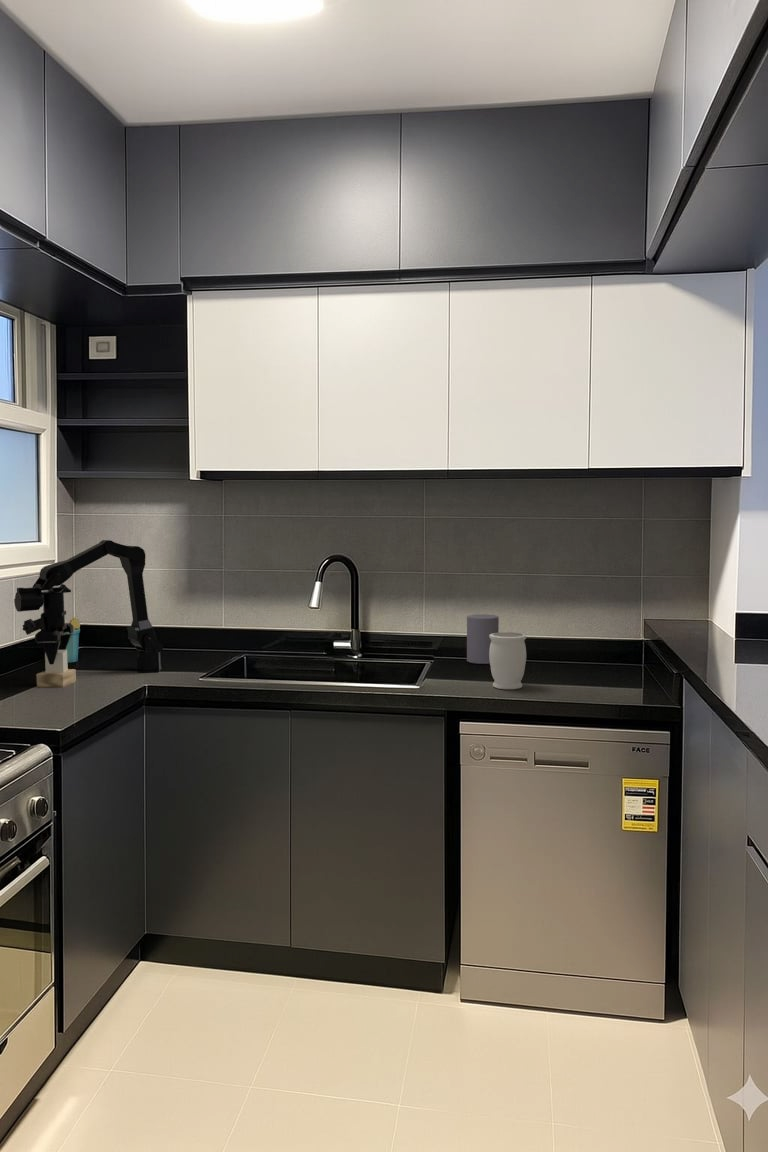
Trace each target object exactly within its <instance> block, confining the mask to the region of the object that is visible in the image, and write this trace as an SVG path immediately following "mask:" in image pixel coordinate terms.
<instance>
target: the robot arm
mask: <svg viewBox="0 0 768 1152" xmlns="http://www.w3.org/2000/svg"><path fill="white" fill-rule="evenodd" d="M107 555H110V556H112V557H114V558H118V559H119V562H120V564H121V567H122V569H123V571H124V573H125V574H126V578H127V584H128V585H127V586H128V591H129V600H130V601H129V602H130V608H131V609H130V610H131V616H132V621H131V625H127V626H126V630H127V633H128V635H127V639H128V640H130V643H131V644H132V645H133V646H134V647H135V650H136V651H138V655H137V657H136V670H137V673H158V672H160V671H161V669H162V668H163V667H162V666H161V653H162V652H163V650H164V645H163V644H162V642H161V641H159V640H158V638H157V636H156V634H155V630H154V629H155V628H154V626H153V625H152V622H151V621H150V620H149V615H148V614H149V613H148V608H147V599H146V592H145V586H144V585H145V584H144V576H143V573H144V570H145V566H146V551H145V549H144V548H142V547H141V546H137V545H136V546H135V545H126V544H122V543H119V542H118V543H117V542H115V541H113V540H109V539H103V540H101V541H100V542H98V543H97V544H95V545H93V546H91V547H89V548H87V549H84V550H83V551H81V552H79V553H77V554H75V555H73V556H72V557H70V558H68V559H65V560H62V561H58V562H54V563H50V564H47V565H45V566H43V567H42V568H41V569H39V570H40V571H39V575H38V578H37V580H36V581H35V582H34V584H33V585H32V587H16V593H15V596H14V599H13V602H14V603H13V604H14V607H15V610H16V612H18V613H19V612H20V613H21V612H31V611H39V610H40V608H42V607H43V609H42V610H43V612H42V613H41V614H40V618H36V619H34V620H33V619H32V618H30V619H26V620H24V621H23V624H22V631H23V632H25V634H26V636H27V635H28V636H29V635H31V634H32V633H35V632H37V633H36V634H35V635H34V641H35V642H36V644H38V645H40V646H41V647H42V648H43V650H44V653H46V655H47V658H48V661H49V664H54V662H55V659H56V655H57V652H58V650H66V648H67V645H68V643H69V640H70V638H71V636H72V634H67V632H69V633H73V625H72V624H71V623H69V622H65V618H66V617H65V616H66V615H67V610H65V595H64V594H66V593H71V592H72V589H70V588H69V587H68V586H67V585H66V584H64V583H65V582H66V581H68V580H69V579H70V578H71V577H72V576H73V575H74V574H75V573H76V572H77V571H80V570H81V569H84V568H85V567H87V566H89V565H90V564H92V563H93V564H94V562H96V561H98V560H100V559H102V558H104V557H105V556H107Z"/></svg>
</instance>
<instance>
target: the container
mask: <svg viewBox="0 0 768 1152" xmlns="http://www.w3.org/2000/svg"><path fill="white" fill-rule="evenodd" d="M499 617H500V616H499V615H495V614H482V613H481V614H471V615H467V616H466V662H468V663H469V664H474V665H481V666H482V665H490V660H489V650H490V644H491V639H490V637H489V636H490V634H493V633H500V632H499V630H500V629H499V624H500V622H499V621H500V620H499Z"/></svg>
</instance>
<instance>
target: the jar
mask: <svg viewBox="0 0 768 1152" xmlns="http://www.w3.org/2000/svg"><path fill="white" fill-rule="evenodd" d="M489 637H490V639H491V644H490V650H489V660H490V664H489V665H490V671H491V673H490V674H491V676H492V678H493V680H494V681H493V683H492V687H494V688H496V689H498V690H518V689H521V688H523V683H522V682H521V681H522V679H523V677H524V674H525V670H526V669H525V668H526V662H527V648H526V642H525V640H526V639H527V635H526V634H524V633H520V632H512V631H511V632H510V631H509V632H506V631H504V632H503V631H502V632H499V633H493V634H490V636H489Z"/></svg>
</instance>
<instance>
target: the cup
mask: <svg viewBox="0 0 768 1152" xmlns="http://www.w3.org/2000/svg"><path fill="white" fill-rule="evenodd" d="M68 623H71V624H72V625H73V633H69V632H67V634H72V636H71V638H70V640H69V643H68V645H67V648H66V650H67V663H75V662H78V661H79V660H78V659H79V658H78V657H79V642H80V641H79V640H80V639H79V638H80V633H81V628H80V627H81V623H80V619H78V618H76V617H72V618H71V619H70V620H69V622H68Z"/></svg>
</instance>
